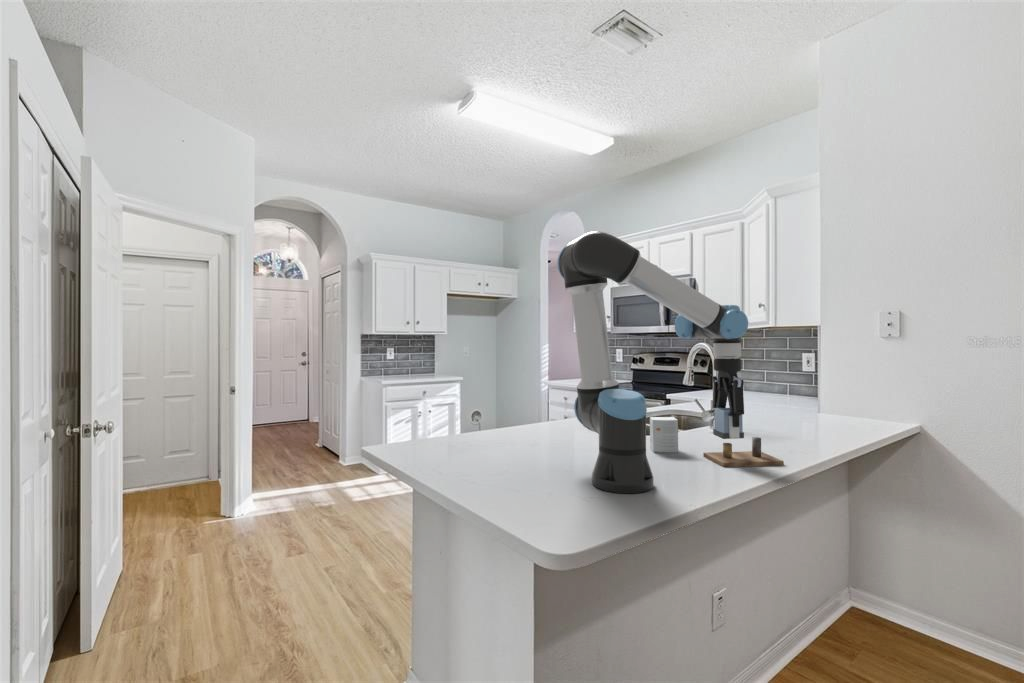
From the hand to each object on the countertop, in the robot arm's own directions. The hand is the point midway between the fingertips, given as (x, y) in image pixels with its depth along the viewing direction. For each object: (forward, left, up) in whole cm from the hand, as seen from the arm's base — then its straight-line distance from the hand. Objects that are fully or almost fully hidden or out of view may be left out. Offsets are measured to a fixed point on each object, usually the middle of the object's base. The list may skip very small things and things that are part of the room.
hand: (728, 435), depth 146 cm
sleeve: (0, 0, 0) cm, 0 cm away
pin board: (+4, 0, -8) cm, 9 cm away
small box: (-14, +15, -8) cm, 22 cm away
